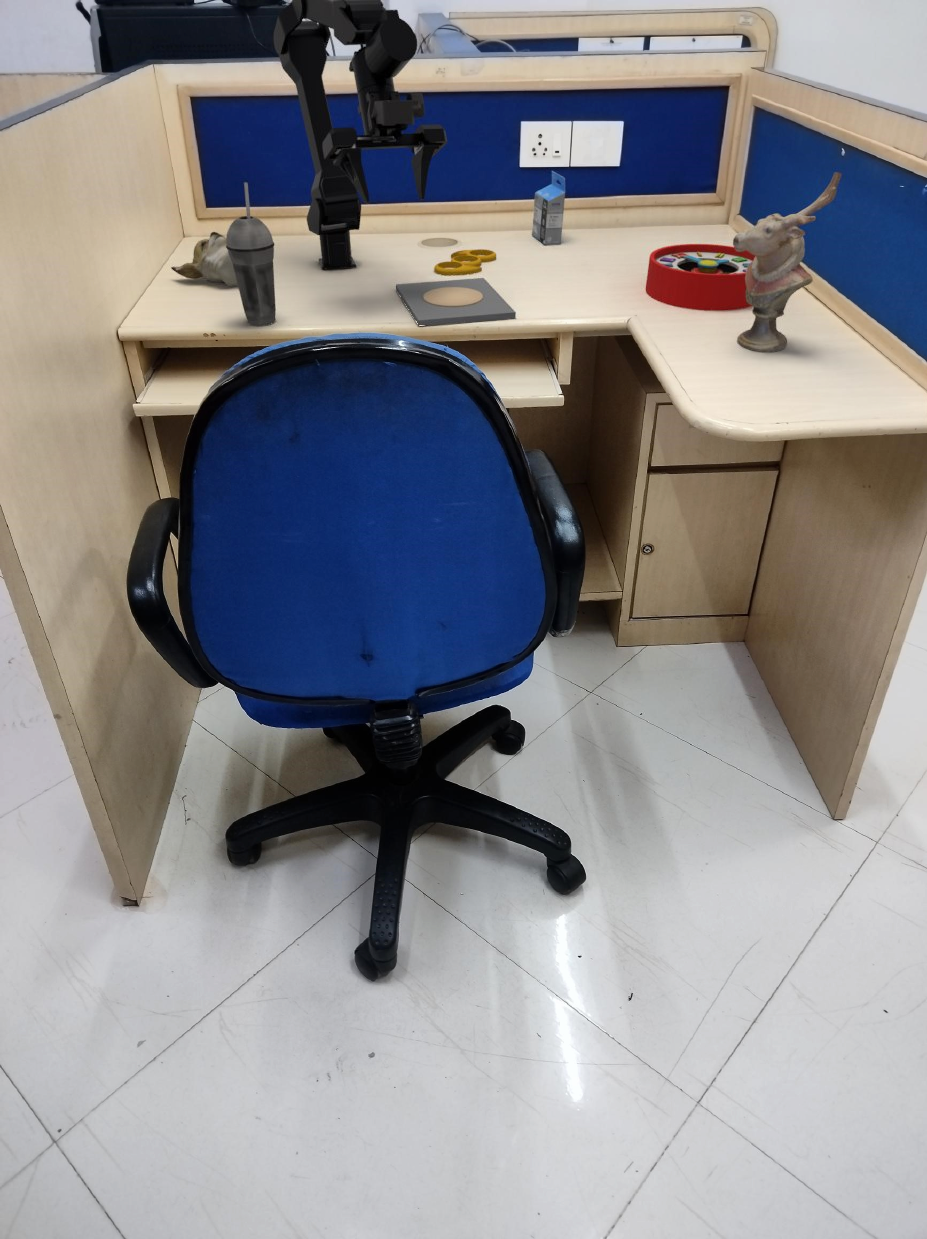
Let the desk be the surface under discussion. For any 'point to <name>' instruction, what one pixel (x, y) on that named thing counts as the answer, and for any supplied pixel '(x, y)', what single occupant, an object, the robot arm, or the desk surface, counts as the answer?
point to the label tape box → (549, 212)
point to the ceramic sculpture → (210, 261)
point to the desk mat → (454, 302)
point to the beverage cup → (253, 266)
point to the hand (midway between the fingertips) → (395, 201)
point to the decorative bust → (776, 270)
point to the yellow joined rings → (465, 267)
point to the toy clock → (699, 276)
